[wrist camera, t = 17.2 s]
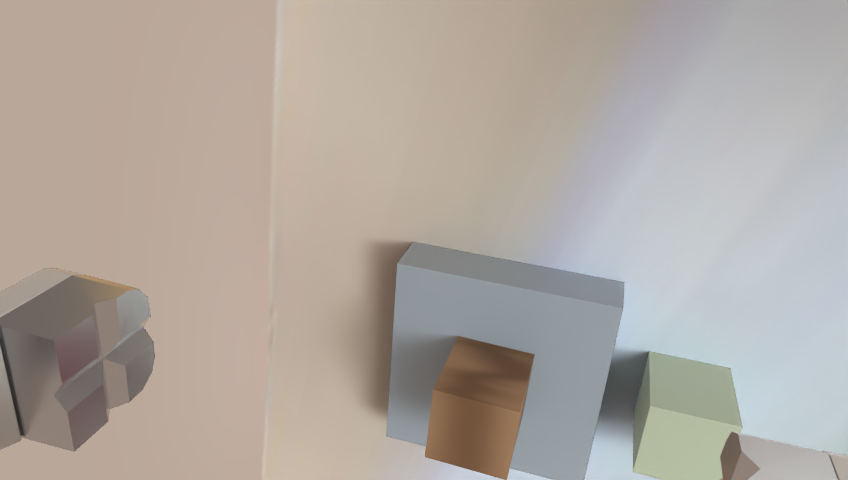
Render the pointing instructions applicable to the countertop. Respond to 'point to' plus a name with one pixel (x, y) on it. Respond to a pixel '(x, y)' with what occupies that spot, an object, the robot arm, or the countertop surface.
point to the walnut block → (479, 406)
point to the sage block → (683, 418)
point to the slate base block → (513, 328)
